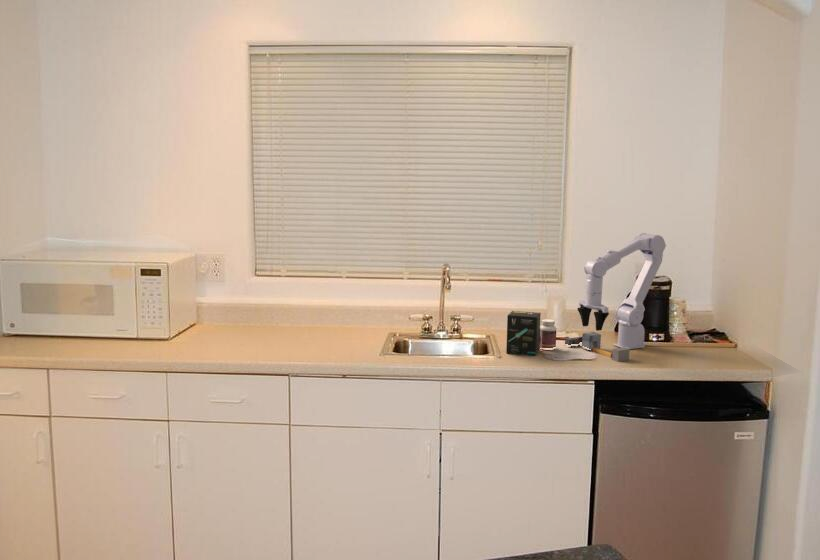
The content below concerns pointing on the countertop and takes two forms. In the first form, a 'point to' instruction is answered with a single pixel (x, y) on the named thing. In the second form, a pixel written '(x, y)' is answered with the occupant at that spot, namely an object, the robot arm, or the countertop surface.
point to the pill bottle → (547, 334)
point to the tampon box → (523, 333)
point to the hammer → (615, 353)
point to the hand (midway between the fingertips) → (592, 328)
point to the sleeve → (591, 340)
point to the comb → (573, 340)
